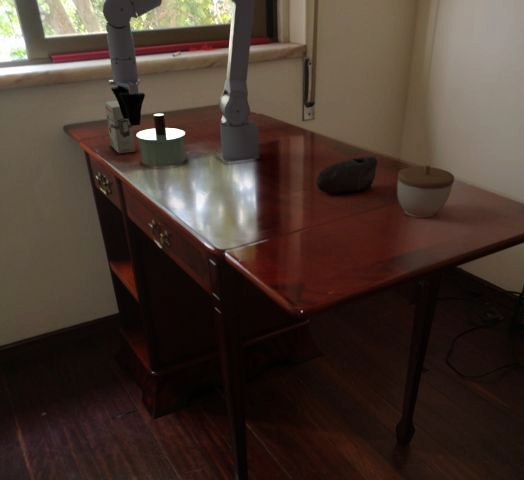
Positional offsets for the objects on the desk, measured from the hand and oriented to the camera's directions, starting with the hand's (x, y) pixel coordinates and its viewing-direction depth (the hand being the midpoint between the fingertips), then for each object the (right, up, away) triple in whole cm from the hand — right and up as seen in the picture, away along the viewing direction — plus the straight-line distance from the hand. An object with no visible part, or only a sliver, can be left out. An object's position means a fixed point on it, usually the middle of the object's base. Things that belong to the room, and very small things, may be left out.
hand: (131, 121), depth 129 cm
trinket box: (+64, -27, -20) cm, 73 cm away
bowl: (+6, -7, +8) cm, 13 cm away
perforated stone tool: (+51, -20, -10) cm, 55 cm away
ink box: (-7, 0, +18) cm, 19 cm away
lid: (+6, -2, +5) cm, 8 cm away
